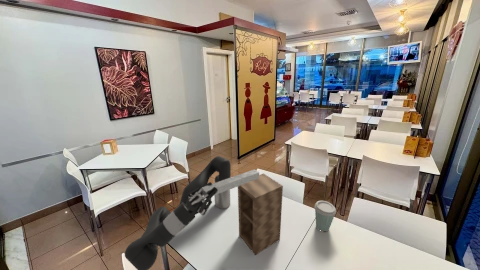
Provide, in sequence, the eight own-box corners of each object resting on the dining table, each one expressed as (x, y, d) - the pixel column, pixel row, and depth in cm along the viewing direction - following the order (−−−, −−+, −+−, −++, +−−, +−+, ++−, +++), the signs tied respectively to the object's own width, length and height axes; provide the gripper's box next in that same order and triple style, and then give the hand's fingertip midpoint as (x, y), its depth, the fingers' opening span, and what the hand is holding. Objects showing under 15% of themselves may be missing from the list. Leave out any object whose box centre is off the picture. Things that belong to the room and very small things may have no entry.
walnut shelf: (255, 255, 92) (255, 197, 83) (239, 235, 104) (237, 183, 94) (279, 239, 101) (282, 185, 91) (262, 223, 112) (263, 173, 102)
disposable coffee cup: (329, 221, 112) (332, 199, 107) (336, 236, 102) (340, 213, 97) (310, 220, 113) (312, 198, 108) (315, 235, 103) (318, 211, 98)
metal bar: (206, 198, 75) (205, 191, 74) (202, 194, 78) (201, 187, 77) (259, 178, 88) (259, 172, 87) (254, 175, 91) (254, 169, 90)
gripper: (179, 225, 65) (217, 188, 70) (168, 203, 76) (202, 172, 81) (191, 235, 69) (227, 200, 74) (179, 213, 80) (211, 183, 85)
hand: (213, 186), depth 78 cm, fingers closed on metal bar, 3 cm apart
